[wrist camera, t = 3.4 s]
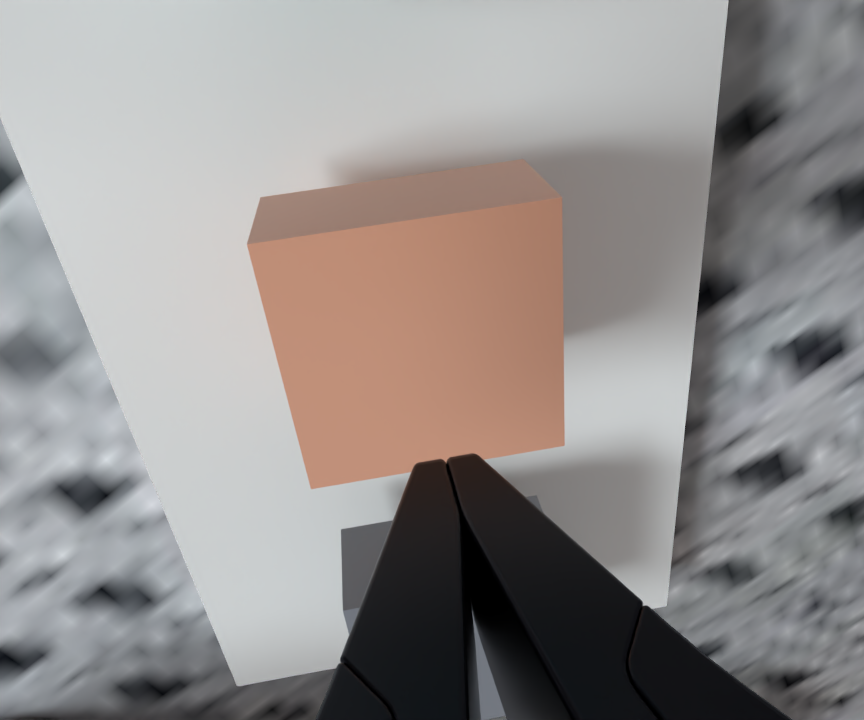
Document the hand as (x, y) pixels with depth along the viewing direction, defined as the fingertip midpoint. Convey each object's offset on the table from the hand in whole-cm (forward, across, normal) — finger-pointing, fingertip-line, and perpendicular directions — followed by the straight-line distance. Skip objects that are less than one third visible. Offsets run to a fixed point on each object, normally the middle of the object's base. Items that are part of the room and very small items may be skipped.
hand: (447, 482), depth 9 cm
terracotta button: (+6, 0, 0) cm, 6 cm away
